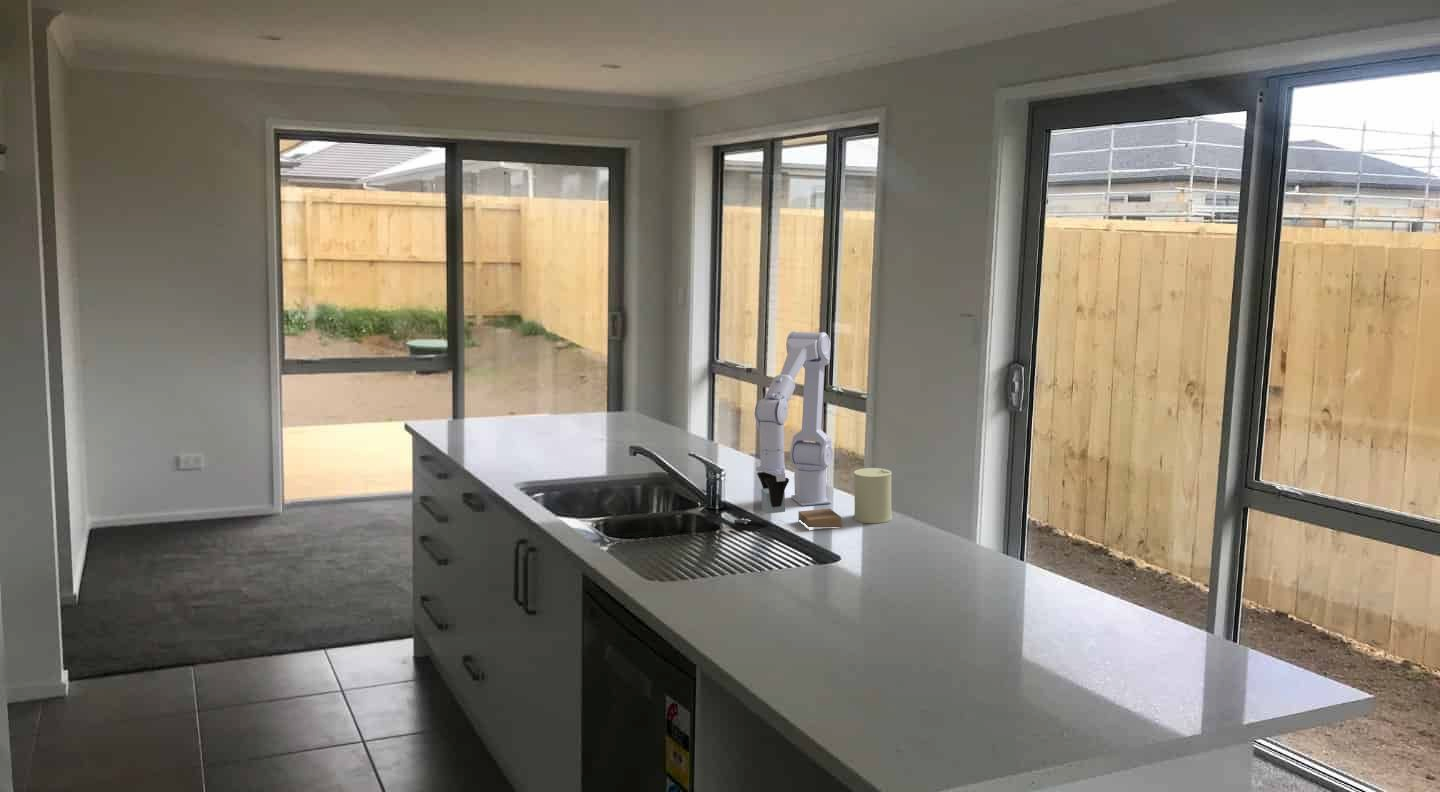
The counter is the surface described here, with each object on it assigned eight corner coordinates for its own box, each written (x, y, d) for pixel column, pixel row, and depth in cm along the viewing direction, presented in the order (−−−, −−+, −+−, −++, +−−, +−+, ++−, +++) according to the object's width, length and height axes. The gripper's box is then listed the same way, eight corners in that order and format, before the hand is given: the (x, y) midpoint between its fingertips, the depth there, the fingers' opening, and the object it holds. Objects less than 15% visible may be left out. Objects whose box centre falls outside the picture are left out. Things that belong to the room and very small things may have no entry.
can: (894, 523, 272) (894, 474, 270) (855, 523, 272) (855, 475, 270) (889, 512, 281) (889, 465, 279) (852, 513, 282) (851, 466, 280)
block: (761, 508, 276) (761, 488, 276) (779, 507, 277) (779, 487, 277) (767, 513, 272) (766, 493, 271) (785, 511, 273) (784, 491, 272)
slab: (798, 523, 276) (798, 511, 275) (829, 520, 278) (829, 508, 277) (809, 532, 268) (808, 519, 268) (841, 529, 270) (841, 516, 269)
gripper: (748, 444, 278) (749, 497, 281) (764, 456, 264) (765, 513, 267) (775, 441, 280) (777, 495, 282) (793, 454, 266) (794, 510, 268)
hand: (773, 503), depth 275 cm, fingers closed on block, 4 cm apart
